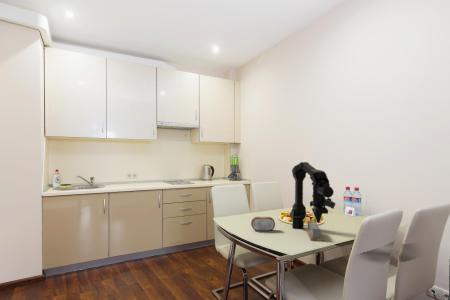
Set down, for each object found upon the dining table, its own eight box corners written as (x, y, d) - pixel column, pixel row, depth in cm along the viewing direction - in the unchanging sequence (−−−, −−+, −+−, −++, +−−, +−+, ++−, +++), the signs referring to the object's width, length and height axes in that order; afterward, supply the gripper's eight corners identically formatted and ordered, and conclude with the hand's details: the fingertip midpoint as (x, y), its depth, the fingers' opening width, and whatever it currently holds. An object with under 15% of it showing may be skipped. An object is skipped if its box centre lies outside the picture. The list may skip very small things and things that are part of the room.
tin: (274, 229, 161) (274, 216, 161) (275, 231, 158) (275, 217, 158) (250, 229, 161) (251, 216, 161) (251, 231, 158) (251, 217, 158)
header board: (310, 240, 142) (310, 229, 142) (305, 229, 161) (305, 220, 161) (323, 241, 141) (323, 230, 141) (317, 230, 159) (317, 220, 159)
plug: (312, 237, 143) (312, 228, 143) (309, 230, 155) (309, 222, 155) (320, 238, 142) (320, 228, 142) (316, 231, 154) (316, 222, 154)
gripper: (338, 197, 128) (338, 228, 128) (329, 191, 146) (329, 218, 146) (315, 197, 130) (315, 227, 130) (309, 191, 148) (309, 217, 148)
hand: (318, 222), depth 138 cm, fingers closed
